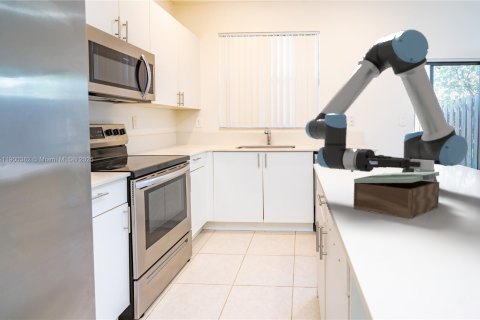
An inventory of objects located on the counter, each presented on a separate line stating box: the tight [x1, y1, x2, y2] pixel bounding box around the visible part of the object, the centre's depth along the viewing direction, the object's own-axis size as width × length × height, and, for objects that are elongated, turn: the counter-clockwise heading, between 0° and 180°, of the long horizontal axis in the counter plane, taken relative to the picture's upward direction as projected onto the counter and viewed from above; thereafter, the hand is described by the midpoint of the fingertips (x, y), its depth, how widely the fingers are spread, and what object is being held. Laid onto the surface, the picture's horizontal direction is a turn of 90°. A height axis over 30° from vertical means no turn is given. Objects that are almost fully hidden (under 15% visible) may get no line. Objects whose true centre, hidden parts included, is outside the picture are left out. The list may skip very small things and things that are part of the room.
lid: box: [353, 171, 440, 184], centre depth 125 cm, size 21×20×1 cm
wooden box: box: [353, 180, 440, 219], centre depth 126 cm, size 21×18×8 cm
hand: (433, 165), depth 117 cm, fingers closed
